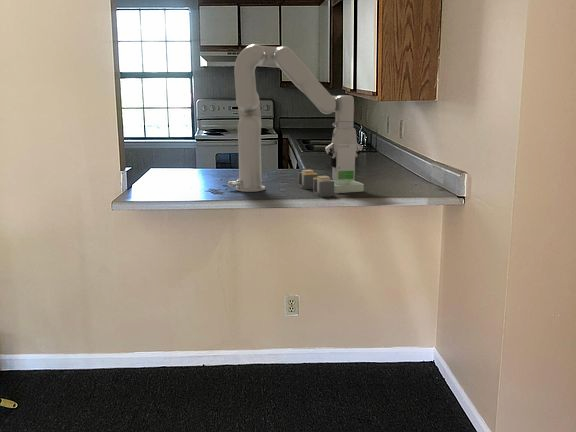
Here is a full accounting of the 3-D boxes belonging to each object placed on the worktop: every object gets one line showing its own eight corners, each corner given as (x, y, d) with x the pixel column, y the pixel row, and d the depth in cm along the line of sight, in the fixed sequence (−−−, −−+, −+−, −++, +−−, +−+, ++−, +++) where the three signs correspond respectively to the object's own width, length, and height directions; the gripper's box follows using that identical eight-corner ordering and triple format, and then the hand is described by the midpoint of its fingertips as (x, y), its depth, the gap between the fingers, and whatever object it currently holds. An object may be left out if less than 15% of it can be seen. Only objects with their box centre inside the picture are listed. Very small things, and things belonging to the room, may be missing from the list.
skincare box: (336, 181, 258) (337, 144, 254) (331, 178, 264) (332, 142, 260) (355, 180, 260) (356, 143, 256) (349, 178, 266) (350, 142, 262)
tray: (336, 193, 254) (336, 186, 254) (323, 187, 267) (323, 180, 266) (363, 191, 258) (363, 184, 258) (349, 185, 271) (350, 179, 270)
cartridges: (320, 195, 249) (320, 177, 247) (301, 186, 269) (301, 170, 267) (329, 195, 250) (330, 177, 248) (310, 186, 270) (310, 169, 269)
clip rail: (319, 196, 247) (319, 180, 245) (297, 186, 270) (297, 171, 269) (334, 195, 249) (335, 180, 247) (311, 185, 272) (311, 170, 271)
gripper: (328, 126, 250) (328, 169, 254) (367, 125, 256) (366, 166, 260) (321, 125, 257) (321, 166, 261) (359, 124, 263) (358, 164, 267)
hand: (343, 166), depth 260 cm, fingers closed on skincare box, 8 cm apart
